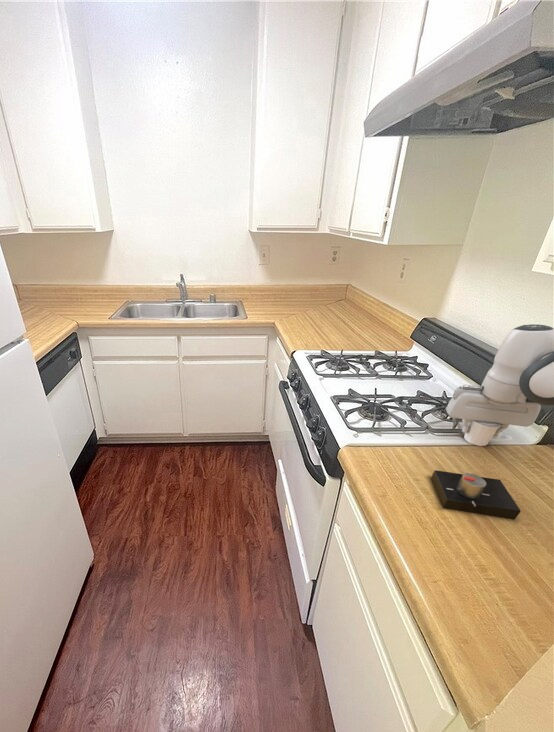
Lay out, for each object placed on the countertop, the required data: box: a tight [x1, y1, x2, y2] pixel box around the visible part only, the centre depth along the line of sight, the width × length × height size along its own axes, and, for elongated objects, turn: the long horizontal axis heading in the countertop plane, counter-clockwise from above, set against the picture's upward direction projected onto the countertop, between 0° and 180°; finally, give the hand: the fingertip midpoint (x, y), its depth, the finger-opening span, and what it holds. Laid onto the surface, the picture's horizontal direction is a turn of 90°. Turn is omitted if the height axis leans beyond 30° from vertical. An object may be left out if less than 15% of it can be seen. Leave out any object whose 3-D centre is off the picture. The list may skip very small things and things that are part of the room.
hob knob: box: [456, 472, 486, 499], centre depth 74 cm, size 4×4×4 cm
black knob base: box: [430, 469, 522, 521], centre depth 76 cm, size 14×11×3 cm
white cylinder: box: [463, 420, 500, 447], centre depth 95 cm, size 7×7×7 cm
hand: (478, 433), depth 96 cm, fingers open, 5 cm apart
